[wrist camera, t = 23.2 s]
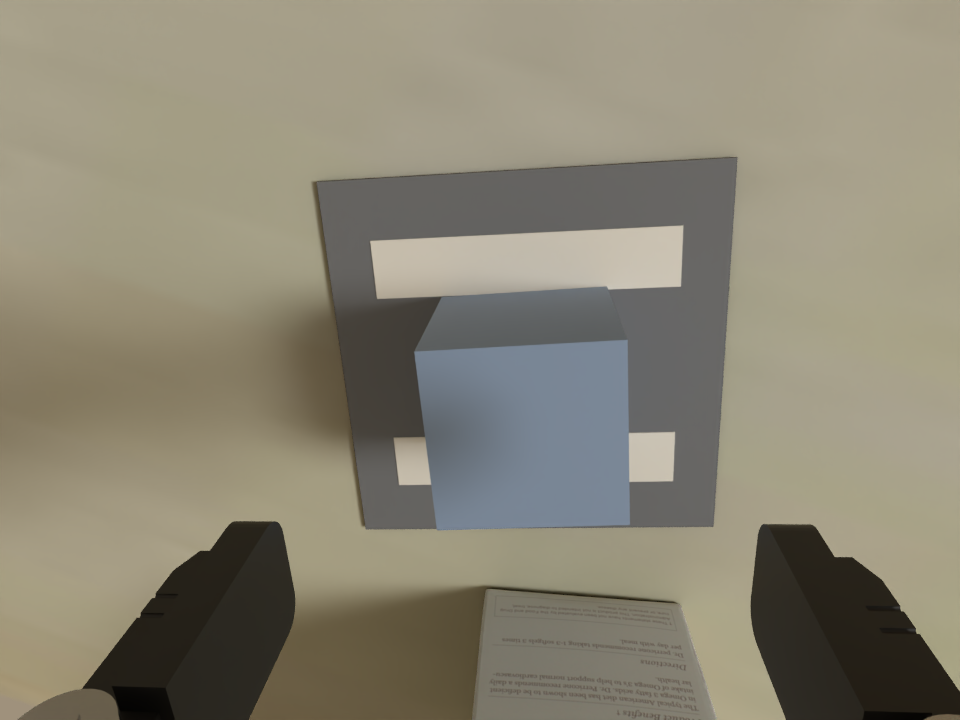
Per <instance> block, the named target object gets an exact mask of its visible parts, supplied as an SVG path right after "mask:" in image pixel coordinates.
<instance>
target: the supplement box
mask: <svg viewBox="0 0 960 720" xmlns="http://www.w3.org/2000/svg"><path fill="white" fill-rule="evenodd" d="M472 720H717V717H716V714H715V710H714V707H713V704H712V701H711V697H710V694H709V691H708V688H707V685H706V681H705V678H704V675H703V671H702V668H701V666H700V663H699V660H698V657H697V654H696V651H695V648H694V645H693V641H692V638H691V635H690V632H689V628H688V625H687V622H686V619H685V616H684V613H683V610H682V607H681V605H680V604H677V603H663V602H648V601H635V600H622V599H609V598H597V597H583V596H570V595H557V594H545V593H534V592H521V591H508V590H498V589H487V590H486V592H485V598H484V606H483V615H482V624H481V633H480V644H479V654H478V664H477V675H476V685H475V695H474V705H473V715H472Z"/></svg>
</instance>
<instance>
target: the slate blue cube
mask: <svg viewBox="0 0 960 720" xmlns="http://www.w3.org/2000/svg"><path fill="white" fill-rule="evenodd" d="M414 354H415V362H416V369H417V377H418V385H419V393H420V401H421V409H422V417H423V425H424V432H425V440H426V448H427V456H428V464H429V472H430V480H431V488H432V495H433V503H434V511H435V519H436V527H437V530H464V529H501V528H537V527H573V526H609V525H630V491H629V412H628V340H627V337H626V334H625V332H624V329H623V327H622V324H621V322H620V319H619V316H618V314H617V311H616V309H615V306H614V303H613V301H612V298H611V296H610V293H609V291H608V288H607V286H604V287H589V288H573V289H558V290H542V291H526V292H511V293H495V294H480V295H464V296H448V297H442V298H441V300H440V302H439V304H438V306H437V308H436V310H435V312H434V314H433V316H432V318H431V320H430V322H429V323H428V325H427V327H426V329H425V331H424V333H423V335H422V337H421V339H420V341H419V343H418V345H417V347H416V349H415V351H414Z"/></svg>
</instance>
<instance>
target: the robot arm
mask: <svg viewBox="0 0 960 720" xmlns="http://www.w3.org/2000/svg"><path fill="white" fill-rule="evenodd" d="M294 613H295V592H294V587H293V582H292V576H291V571H290V566H289V561H288V556H287V550H286V545H285V540H284V535H283V531H282V528H281V526H280V524H279V523H278V522H255V521H234V522H232V523H231V524H229V526H228V527H227V528H226V529H225V531H224V532H223V534H222V535H221V536H220V538H219V539H218V540H217V542H216V543H215V545H214V546H213V547H212V549H211V550H210V551H199V552H198V553H197V554H195V555H194V556H193V557H191V558H190V559H189V560H187V561H186V562H184V563H183V564H182V565H180V566H179V567H178V568H176V569H175V570H174V571H173V572H172V573H171V574H170V576H169V577H168V578H167V580H166V581H165V582H164V583H163V585H162V586H161V587H160V589H159V590H158V591H157V592H156V597H155V598H152V599H151V600H150V602H149V603H148V604H147V605H146V607H145V608H144V609H143V611H142V612H141V616H140V618H136V620H135V621H134V622H133V623H132V625H131V626H130V627H129V629H128V630H127V631H126V633H125V634H124V635H123V636H122V638H121V639H120V640H119V642H118V643H117V644H116V645H115V647H114V648H113V649H112V651H111V652H110V653H109V655H108V656H107V657H106V658H105V660H104V661H103V662H102V664H101V665H100V666H99V667H98V669H97V670H96V671H95V673H94V674H93V675H92V676H91V678H90V679H89V680H88V682H87V683H86V684H85V686H84V687H83V688H82V689H80V690H74V691H70V692H66V693H63V694H60V695H57V696H55V697H53V698H50V699H48V700H46V701H44V702H42V703H41V704H39V705H37V706H36V707H34V708H33V709H31V710H30V711H28V712H27V713H25V714H24V715H23V716H22V717H20V718H19V719H18V720H249V718H250V715H251V713H252V711H253V709H254V707H255V705H256V703H257V701H258V698H259V696H260V694H261V692H262V690H263V688H264V686H265V683H266V681H267V679H268V677H269V675H270V673H271V671H272V669H273V666H274V664H275V662H276V660H277V658H278V656H279V654H280V652H281V649H282V647H283V645H284V643H285V641H286V639H287V637H288V635H289V632H290V630H291V627H292V623H293V619H294ZM751 620H752V627H753V632H754V636H755V640H756V643H757V646H758V648H759V651H760V653H761V656H762V659H763V661H764V664H765V666H766V669H767V671H768V674H769V677H770V679H771V682H772V684H773V687H774V689H775V692H776V695H777V697H778V700H779V702H780V705H781V708H782V710H783V713H784V715H785V718H786V720H960V691H959V690H958V689H957V687H956V686H955V684H954V683H953V681H952V680H951V678H950V677H949V676H948V674H947V673H946V671H945V670H944V668H943V667H942V666H941V664H940V663H939V661H938V660H937V658H936V657H935V655H934V654H933V653H932V651H931V650H930V648H929V647H928V645H927V644H926V643H925V641H924V640H923V638H922V637H921V635H920V634H916V628H915V627H914V625H913V624H912V622H911V621H910V620H909V618H908V617H907V615H906V614H905V612H901V610H900V605H899V604H898V602H897V601H896V599H895V598H894V597H893V595H892V594H891V592H890V591H889V589H888V588H887V587H886V585H885V584H884V582H883V581H882V580H881V579H880V578H879V577H877V576H876V575H875V574H873V573H872V572H871V571H869V570H868V569H867V568H865V567H864V566H863V565H862V564H860V563H859V562H858V561H856V560H855V559H854V558H852V557H834V555H833V554H832V552H831V551H830V549H829V548H828V546H827V544H826V543H825V541H824V540H823V538H822V536H821V535H820V533H819V532H818V530H817V529H816V528H815V527H814V526H813V525H782V524H763V525H762V526H761V527H760V530H759V533H758V540H757V549H756V558H755V567H754V576H753V585H752V594H751Z"/></svg>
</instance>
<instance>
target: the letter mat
mask: <svg viewBox="0 0 960 720" xmlns="http://www.w3.org/2000/svg"><path fill="white" fill-rule="evenodd" d="M736 172H737V157H729V158H712V159H695V160H678V161H661V162H644V163H627V164H609V165H592V166H575V167H558V168H541V169H524V170H507V171H489V172H472V173H455V174H438V175H421V176H404V177H387V178H370V179H352V180H335V181H318V182H317V188H318V196H319V203H320V210H321V217H322V224H323V231H324V238H325V245H326V252H327V259H328V266H329V273H330V280H331V287H332V294H333V301H334V308H335V315H336V323H337V330H338V337H339V344H340V351H341V358H342V365H343V372H344V379H345V386H346V393H347V400H348V407H349V414H350V421H351V428H352V435H353V442H354V449H355V457H356V464H357V471H358V478H359V485H360V492H361V499H362V506H363V513H364V520H365V527H366V529H437V527H436V519H435V511H434V503H433V495H432V488H431V480H430V472H429V464H428V456H427V448H426V440H425V432H424V425H423V417H422V409H421V401H420V393H419V385H418V377H417V369H416V362H415V354H414V351H415V349H416V347H417V345H418V343H419V341H420V339H421V337H422V335H423V333H424V331H425V329H426V327H427V325H428V323H429V322H430V320H431V318H432V316H433V314H434V312H435V310H436V308H437V306H438V304H439V302H440V300H441V298H442V297H448V296H464V295H480V294H495V293H511V292H526V291H542V290H558V289H573V288H589V287H604V286H607V288H608V291H609V293H610V296H611V298H612V301H613V303H614V306H615V309H616V311H617V314H618V316H619V319H620V322H621V324H622V327H623V329H624V332H625V334H626V337H627V340H628V412H629V491H630V525H609V526H573V527H537V528H613V527H713V525H714V510H715V494H716V479H717V464H718V448H719V433H720V417H721V402H722V387H723V371H724V356H725V341H726V325H727V310H728V295H729V279H730V264H731V249H732V233H733V218H734V203H735V187H736Z"/></svg>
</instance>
